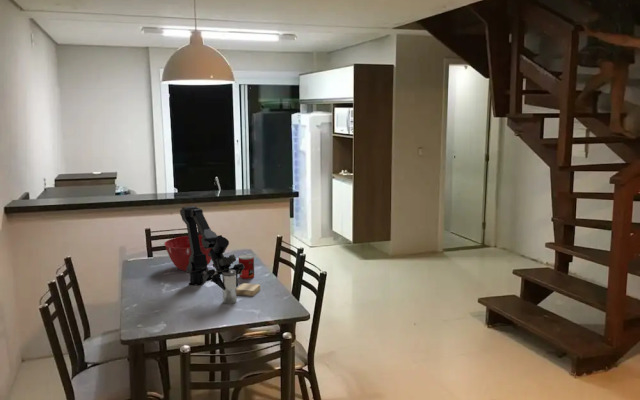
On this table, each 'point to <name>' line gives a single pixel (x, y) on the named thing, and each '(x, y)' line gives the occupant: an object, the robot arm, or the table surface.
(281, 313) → the table surface
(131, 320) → the table surface
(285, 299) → the table surface
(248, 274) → the canned food
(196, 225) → the robot arm
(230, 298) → the canister
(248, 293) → the oak board
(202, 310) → the table surface
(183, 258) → the mixing bowl
